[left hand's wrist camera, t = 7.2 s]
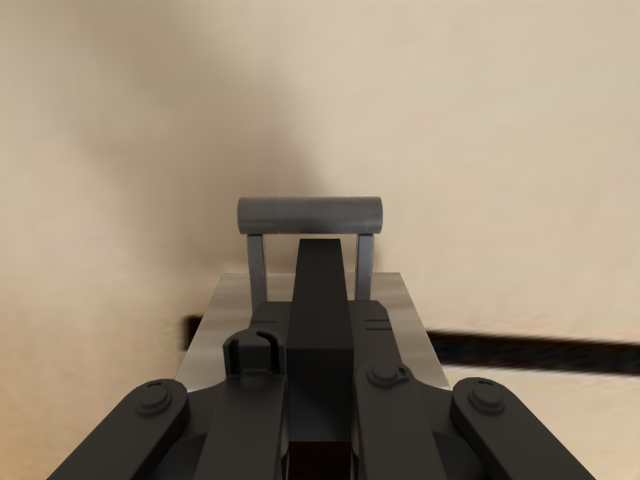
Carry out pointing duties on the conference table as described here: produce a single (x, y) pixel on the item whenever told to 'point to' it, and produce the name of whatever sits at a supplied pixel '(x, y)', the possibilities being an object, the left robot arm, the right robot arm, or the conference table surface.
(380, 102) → the conference table surface
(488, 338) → the conference table surface
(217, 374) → the drawer
